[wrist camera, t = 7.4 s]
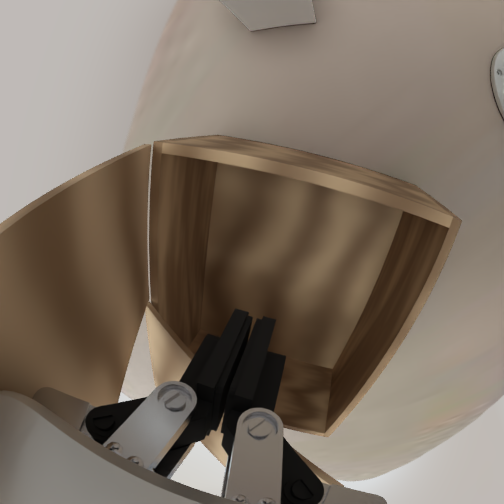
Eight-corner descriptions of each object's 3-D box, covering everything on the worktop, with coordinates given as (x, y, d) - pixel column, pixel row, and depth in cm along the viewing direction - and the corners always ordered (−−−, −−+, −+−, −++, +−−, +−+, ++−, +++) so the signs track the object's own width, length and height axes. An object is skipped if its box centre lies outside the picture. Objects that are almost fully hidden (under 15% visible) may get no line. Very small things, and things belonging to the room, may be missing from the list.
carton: (415, 185, 25) (461, 220, 14) (335, 369, 37) (328, 437, 27) (217, 135, 28) (153, 141, 18) (197, 327, 41) (159, 383, 31)
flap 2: (344, 485, 11) (339, 491, 11) (285, 513, 18) (282, 516, 17) (149, 301, 24) (144, 303, 24) (158, 383, 30) (155, 385, 30)
